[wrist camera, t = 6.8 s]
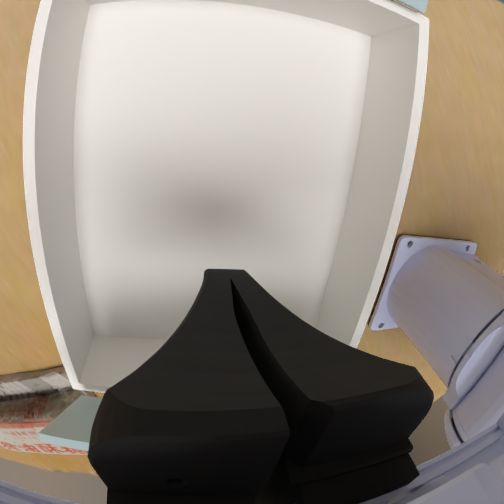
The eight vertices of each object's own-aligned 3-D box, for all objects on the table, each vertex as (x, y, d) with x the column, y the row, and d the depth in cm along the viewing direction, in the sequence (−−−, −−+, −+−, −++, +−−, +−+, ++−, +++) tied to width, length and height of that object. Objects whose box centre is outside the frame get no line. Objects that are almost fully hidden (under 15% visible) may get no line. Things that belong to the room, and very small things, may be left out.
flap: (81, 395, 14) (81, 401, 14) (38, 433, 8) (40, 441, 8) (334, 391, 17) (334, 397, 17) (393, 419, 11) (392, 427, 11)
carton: (375, 33, 13) (429, 18, 9) (315, 337, 22) (340, 385, 18) (85, 0, 10) (50, -32, 6) (89, 335, 19) (72, 388, 14)
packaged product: (56, 405, 16) (127, 467, 20) (70, 358, 20) (130, 425, 25) (-53, 408, 15) (7, 462, 20) (-38, 377, 19) (16, 432, 24)
